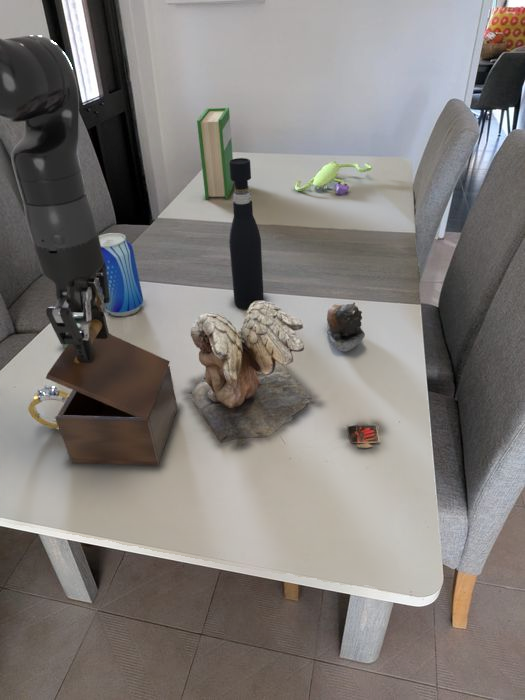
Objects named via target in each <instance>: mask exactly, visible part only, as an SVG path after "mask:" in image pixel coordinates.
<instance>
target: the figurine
mask: <svg viewBox="0 0 525 700" xmlns="http://www.w3.org/2000/svg"><path fill="white" fill-rule="evenodd" d="M364 166H365V168H362V167H360V165H359V164H358V163H351V162H347V163H337V161H335V160H332V161H331V162H329V163H328V164H325V165H323V167H322V168H321V169H320V170H319V171H318V172H317V174H316V175H315V176H314V177H312V178H311V179H310V180H309V181H307V182H306V184H305V185H302V186H301V187H300V185H301V182H302V181H301V180H297V182H296V184H295V186H294V187H295V191H296V192H302V191H304V190H307V189H309V188H310V187H311V186H312V185H313V186H314V187H315V189H318V190H319V189H320V188H323V189H324V190H327V189H328V187H329V185H328V184H330V183H331V182H334V183H337V184H336V185H335V187H334V188H333V189H334V191H335V194H337V195H345V194H346V193H347V192H348V190H349V189H350V186H349V185H348V183H346V182H345V180H342V179H339V178H336V177H337V175H338V174H339V171H340V169H341V168H356V169H357V171H358V172H359V173H366V172H370V171H371V170H372V169H373V166H372V165H370V164H369V163H364Z"/></svg>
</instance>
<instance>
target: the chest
mask: <svg viewBox="0 0 525 700" xmlns="http://www.w3.org/2000/svg"><path fill="white" fill-rule="evenodd" d="M68 395H69V397H68V398H67V400H66V402H65V403H63V405H62V406H61V408H60V410H59V411H58V413H57V415H56V417H55V422H57V424H58V427H59V430H58V431H59V432H60V436H61V438H62V440H63V443H64V446H65V449H66V451H67V453H68V456H69V459H70V462H71V463H76V464H77V463H78V464H98V465H99V464H101V465H103V464H104V465H125V466H127V465H128V466H148V467H151V466H152V467H154V466H155V467H158V466H159V463H160V460H161V457H162V455H163V452H164V448H165V446H166V443H167V440H168V437H169V434H170V431H171V428H172V425H173V422H174V419H175V417H176V413H177V411H178V403H177V399H176V393H175V388H174V382H173V378H172V372H171V367H170V365H168V368H167V370H166V373H165V375H164V378H163V380H162V383H161V385H160V388H159V391H158V393H157V396H156V398H155V401H154V403H153V406H152V408H151V411H150V413H149V416H148V418H147V420H146V421H145V420H143V419H140V418H138V417H135V416H133V415H131V414H128V413H126V412H124V411H121V410H119V409H117V408H114V407H112V406H110V405H107V404H105V403H103V402H100V401H98V400H96V399H93V398H91V397H89V396H86V395H84V394H82V393H79V392H77V391H75V390H72V389H71V392H70V393H69V394H68Z"/></svg>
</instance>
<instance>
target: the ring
mask: <svg viewBox="0 0 525 700" xmlns="http://www.w3.org/2000/svg"><path fill="white" fill-rule="evenodd" d="M43 386H44V387H42V388H40V389H36V392H35V393H34V394H33V396H32V398H31V400H30V403H29V405H28V407H27V409H28V413H29V415H30V416H31V418H32V419H34V420H35V421H36V422H38V423H39V424H41V425H43V426H45V427H48V428H51V429H56V430H58V431H60V430H59V427H58V424H57V422H56V421H52V420H49V419H47V418H45V417H43V416H42V415H41V414H40V413H39V412H38V410H37V407H36V406H37V405H39V404H41V403H43V402H45V401H59V402H61V403H63V404H64V403H65V402H66V400H67V398H68V397H69V395H70V394H68V393H66V392H65V391H63V390H60V389H58V388H57V387H56V386H54V385H46V384H45V385H43Z"/></svg>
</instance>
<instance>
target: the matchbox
mask: <svg viewBox="0 0 525 700" xmlns="http://www.w3.org/2000/svg"><path fill="white" fill-rule="evenodd" d="M346 430H347V431H346V432H347V436H348V438H349V440H350V442H351V444H354V443H355V445H356V447H358V448H359V449H360V448H361V449H368V448H372V447H373V444H374V443H376V444H377V443H380V435H379V433H380V427H379V426H378V425H377V424H375V423H371V424H369V423H367V424H354V425H350V426H347V428H346Z"/></svg>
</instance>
